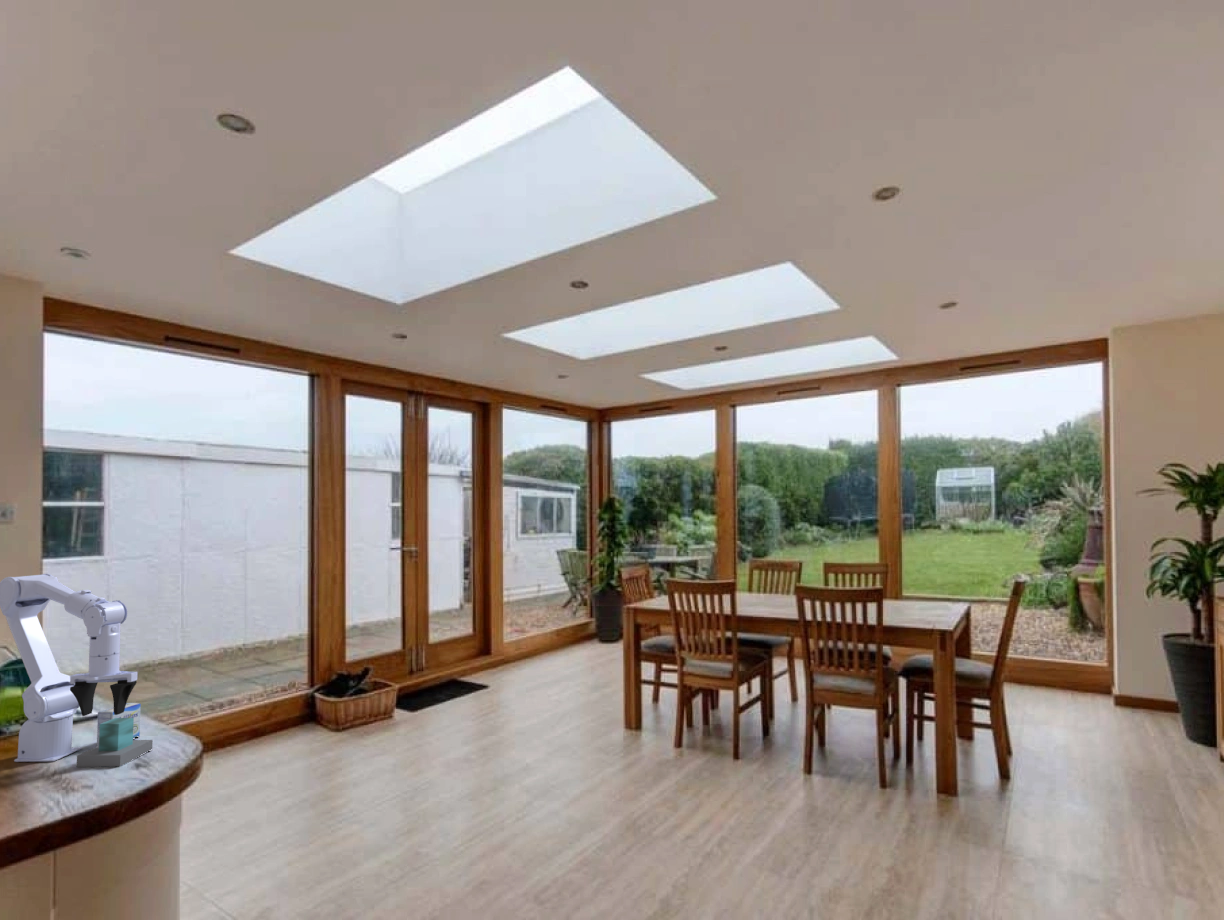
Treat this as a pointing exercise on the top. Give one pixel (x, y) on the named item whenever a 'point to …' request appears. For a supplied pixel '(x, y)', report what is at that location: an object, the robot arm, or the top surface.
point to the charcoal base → (113, 755)
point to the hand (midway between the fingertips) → (103, 714)
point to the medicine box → (129, 712)
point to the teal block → (116, 734)
